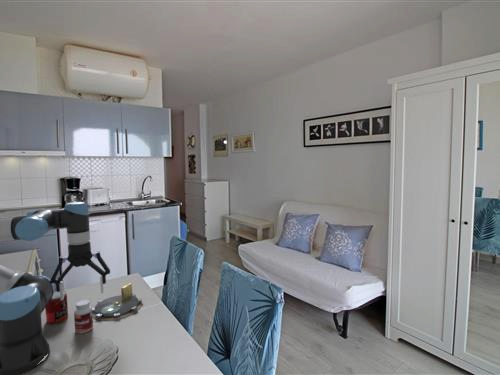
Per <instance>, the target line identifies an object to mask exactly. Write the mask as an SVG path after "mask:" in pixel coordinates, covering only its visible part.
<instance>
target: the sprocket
mask: <svg viewBox="0 0 500 375" xmlns="http://www.w3.org/2000/svg"><path fill="white" fill-rule="evenodd" d="M120 289H121V291H120V293H121V295H120V294H115V295H114V296H111V297H107V298H105V299H100V300H98V301H97V304H96V305H95V306H94V307H92V313H94V312H95V314H96V318H98V319H100V318H102V317H104V318H109V317H114V318H119V317H120V316H121V315H124V314H127V313H129V312H131V311H132V312H134V311H136V310H137V306H138V304H139V303H142V304H143V299H142V298H138V297H137V296H136V294H134V293H133V283H132V282H131V283H130V282H129V283H128V284H126V285H124V286H122V287H120ZM136 312H137V311H136Z"/></svg>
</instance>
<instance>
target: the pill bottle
mask: <svg viewBox="0 0 500 375" xmlns="http://www.w3.org/2000/svg"><path fill="white" fill-rule="evenodd" d="M90 303H91V302H90V300H88V299H83V300H80V301H78V302H76V304H75V309H74V312H73V315H74V317H73V318H74V319H73V320H74V332H75V333H77V334H85V333H87V332H90V331H91V330H92V329H93V327H94V324H93V323H94V318H93V317H92V308H93V307H92V306H91V304H90Z"/></svg>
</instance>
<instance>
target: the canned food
mask: <svg viewBox="0 0 500 375" xmlns="http://www.w3.org/2000/svg"><path fill="white" fill-rule="evenodd" d="M67 295H68V294H67V291H66V290H64V299H63V300H62V301H61V300H60V292H57V291H56V290H54V294H53V297H52V299H51V301H50V302H49V303H48V304H47V306H46V307H45V309H44V311H45V321H46V323H47V324H50V325H55V324H59V323H62V322H64V321H65V320H67V319H68V316H69V311H68V310H69V309H68V296H67Z"/></svg>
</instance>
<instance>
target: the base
mask: <svg viewBox="0 0 500 375" xmlns="http://www.w3.org/2000/svg"><path fill="white" fill-rule="evenodd" d="M142 305H143V302H142V303H139V304H138V306H137V310H136V311H134V312H132V311H131V312H129V313H127V314H124V315H121V316H120V317H119V318H114V317H109V318H104V317H102V318H100V319H98V318H96V314H95V312H94V313H92V317H93V320H97V321H114V320H119V319H120V320H121V319H123V318H127V317H130V316H131V315H133V314H135V313H136V312H138V311H139V310H140V308H142Z"/></svg>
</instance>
